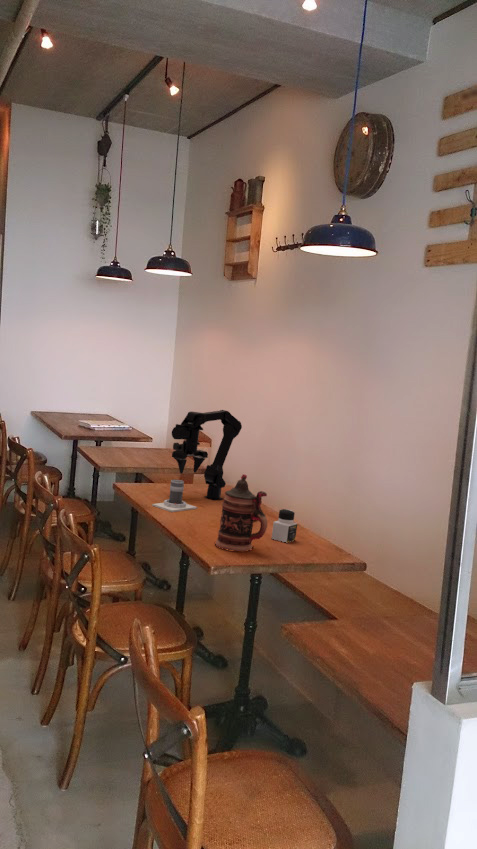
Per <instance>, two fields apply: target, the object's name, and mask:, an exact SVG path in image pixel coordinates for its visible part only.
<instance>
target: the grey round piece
mask: <svg viewBox="0 0 477 849" xmlns="http://www.w3.org/2000/svg"><path fill="white" fill-rule="evenodd" d="M184 484H185V481H184V480H183V479H171V480H170V485H169V503H172V504H175V503H176V504H182V501H183V494H184V488H185V487H184Z"/></svg>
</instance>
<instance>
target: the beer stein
mask: <svg viewBox="0 0 477 849" xmlns="http://www.w3.org/2000/svg"><path fill="white" fill-rule="evenodd" d="M247 477H248V475H246V474H242V475H241V476H240V478H241V479H239V480H237V482H236V484H235V486H234V487H232V488H231V489H230V490H226V491H224V494H225V495H224V499H223V501H222V503H221V506H222V508H221V509H222V510H221V516H220V520H219V522H220V523H219V525H220V526H219V530H217V535H218V537H217V539H216V541H215V542H216V546H218V547H220V548H223V549H228V550H234V551H233V552H235V551H247V550H250V549H252V546H253V545H252V541H253V540H260V539H261V538H262V537H263V536H264V535H265V534H266V531H267V528H268V519H267V517H266V514H265V513H264V511H263V509H262V508H261V505H262V497H267V496H268V495H267V492H265V491H262V490H260V491H258V492H257V493H256V495H255V494H254V493H252V492H251V491H250V489H249V484H248V482H247ZM254 521H259V522H260V527H259V528H260V529H259V530H258V531H257V532H255V533H254V532H253V526H254ZM216 546H215V547H216ZM218 547H217V548H218ZM220 548H219V549H220ZM223 549H222V550H223ZM252 550H253V549H252ZM250 551H251V550H250Z"/></svg>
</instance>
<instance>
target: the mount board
mask: <svg viewBox="0 0 477 849" xmlns="http://www.w3.org/2000/svg"><path fill="white" fill-rule="evenodd" d="M151 506H152V507H155V508H157V509H160V510H163V511H166V512H169V513H175V512H184V511H191V510H197V509H198V506H195V505H192V504H189V503H187V502H186V501H183V500H182V504H176V503H175V504H172V503H169V499H165V500H163V502H159V503H152V504H151Z"/></svg>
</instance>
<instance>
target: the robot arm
mask: <svg viewBox="0 0 477 849" xmlns="http://www.w3.org/2000/svg"><path fill="white" fill-rule="evenodd" d="M212 421H214V422H215V421H220V422H221V424H222V425H223V427H222V434H223V436H222V438H221V441H220V444H219V446H218V448H217V451H216V454H215V457H214V459H213V461H212V463H211V464H209V465H208V464H207V465H206V468H205V470H204V472H203V474H204V476H203V477H204V482H205V484H206V485H207V486H208V487H207V493H206V495H204V498H206V499H210V500H214V501H215V500H217V501H218V500H222V499H223V497H221V495H222V488H225V486H226V484H227V483H226V481H225V480H224V478H223V476H224V469H223V467H224V464H225V462H226V458H227V456H228V453H229V451H230V448H231V446H232V444H233V441H234V439H235V438H236V437H238V436H239V434H240V432H241V430H242V427H243V425H242V422H241V421H240V420H238V418H236V417H235V416H234V415H232V414H231V412H230V411H229V410H224V409H220V410H215V411H214V410H213V411H206V412H201V411H200V412H199V411H189V412H187V414H186V416H185V417H184V419H183V420H182V421H181V423H180V424H179V423H176V424H175V426H174V427H173V429H172V430H171V436H172V438H173V439H174V440H183V441H182V443H179V442H173V445H172V450H173V451H172V452H171V458H173V460H176V463H177V465H178V469H179V474H183V473H184V470H185V467H186V463H187V461H188V460H187V458H189V457H192V458H193V461H194V462H193V473H197V471H198V470H199V468H200V466H201V465H202V464H203V462H204V461H205V460H207V458H209V454H208V452H207V450H206V451H205V450H202V449H198V446H200V444H201V443H200V442H199V439H200V438H199V436H200V431H204V428H203V427H202V425H204V424H205V423H207V422H212ZM223 500H224V499H223Z"/></svg>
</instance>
